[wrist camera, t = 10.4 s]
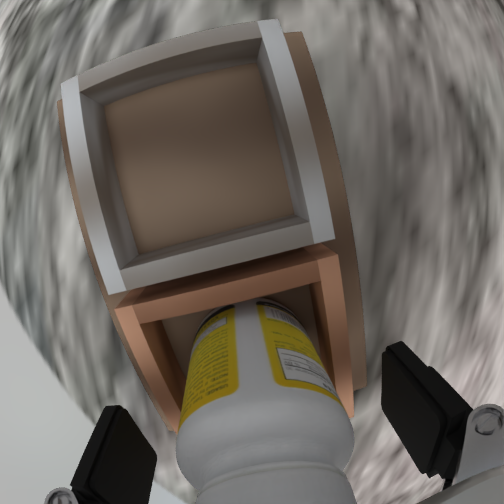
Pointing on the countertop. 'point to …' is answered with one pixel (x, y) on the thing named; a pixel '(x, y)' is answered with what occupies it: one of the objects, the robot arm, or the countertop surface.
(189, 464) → the supplement bottle
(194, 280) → the board
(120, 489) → the robot arm
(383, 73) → the countertop surface
